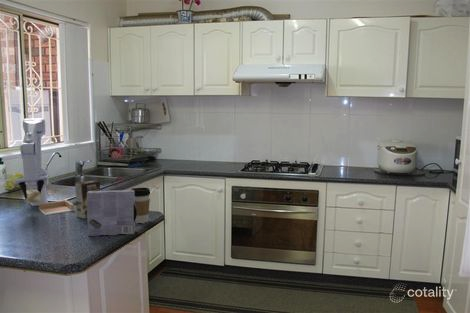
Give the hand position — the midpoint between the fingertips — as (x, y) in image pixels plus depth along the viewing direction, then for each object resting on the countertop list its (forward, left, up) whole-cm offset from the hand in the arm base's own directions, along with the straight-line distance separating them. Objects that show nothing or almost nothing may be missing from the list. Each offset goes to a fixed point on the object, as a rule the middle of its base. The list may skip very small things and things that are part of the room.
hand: (32, 197), depth 192 cm
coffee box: (+18, +20, -9) cm, 28 cm away
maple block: (0, 0, -2) cm, 2 cm away
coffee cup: (+42, +35, -9) cm, 55 cm away
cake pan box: (+50, +19, -9) cm, 54 cm away
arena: (-1, +10, -8) cm, 13 cm away
